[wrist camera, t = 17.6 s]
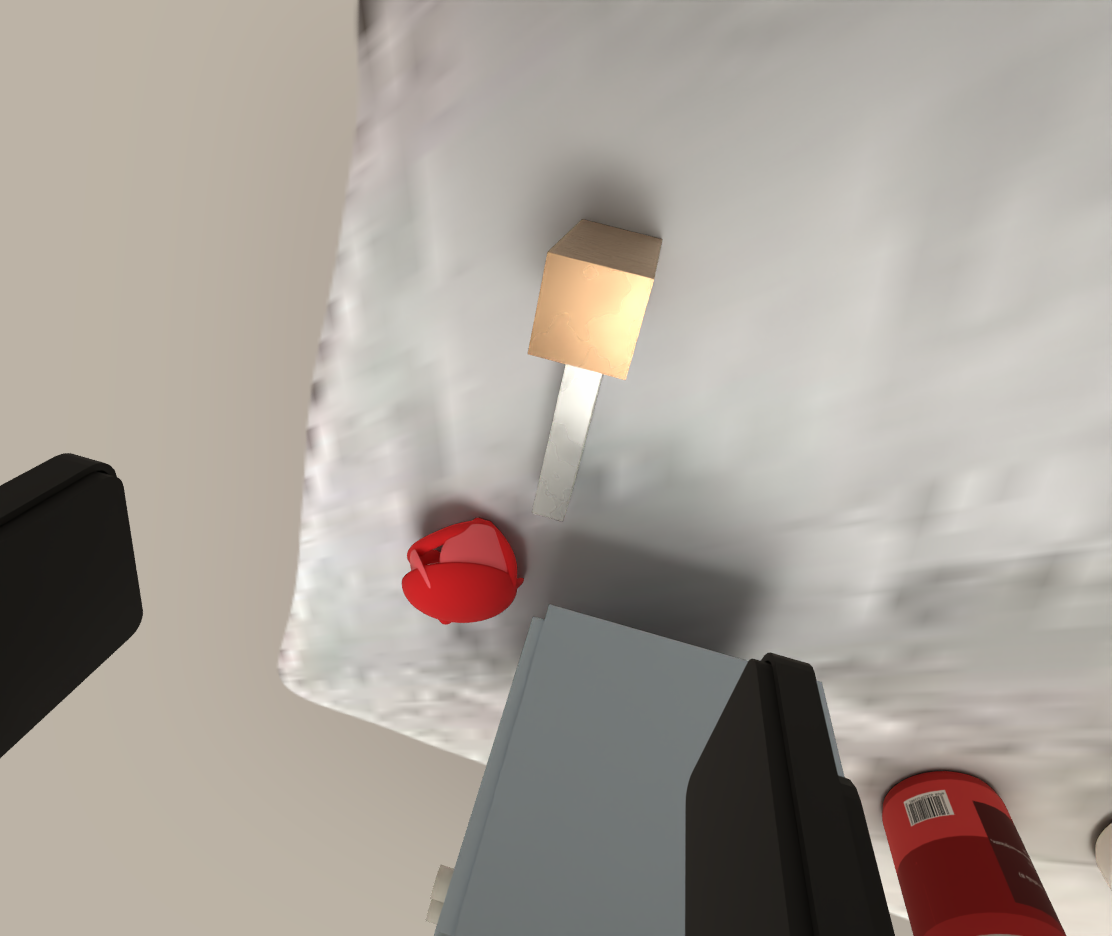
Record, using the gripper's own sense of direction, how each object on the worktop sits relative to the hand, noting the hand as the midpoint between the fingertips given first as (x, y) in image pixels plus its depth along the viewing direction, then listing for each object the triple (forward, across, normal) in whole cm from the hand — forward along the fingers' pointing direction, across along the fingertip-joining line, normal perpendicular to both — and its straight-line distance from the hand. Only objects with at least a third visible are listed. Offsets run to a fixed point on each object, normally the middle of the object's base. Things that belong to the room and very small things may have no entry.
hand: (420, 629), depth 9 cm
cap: (+27, +4, +19) cm, 33 cm away
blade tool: (+26, 0, +5) cm, 27 cm away
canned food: (+26, -32, +30) cm, 51 cm away
